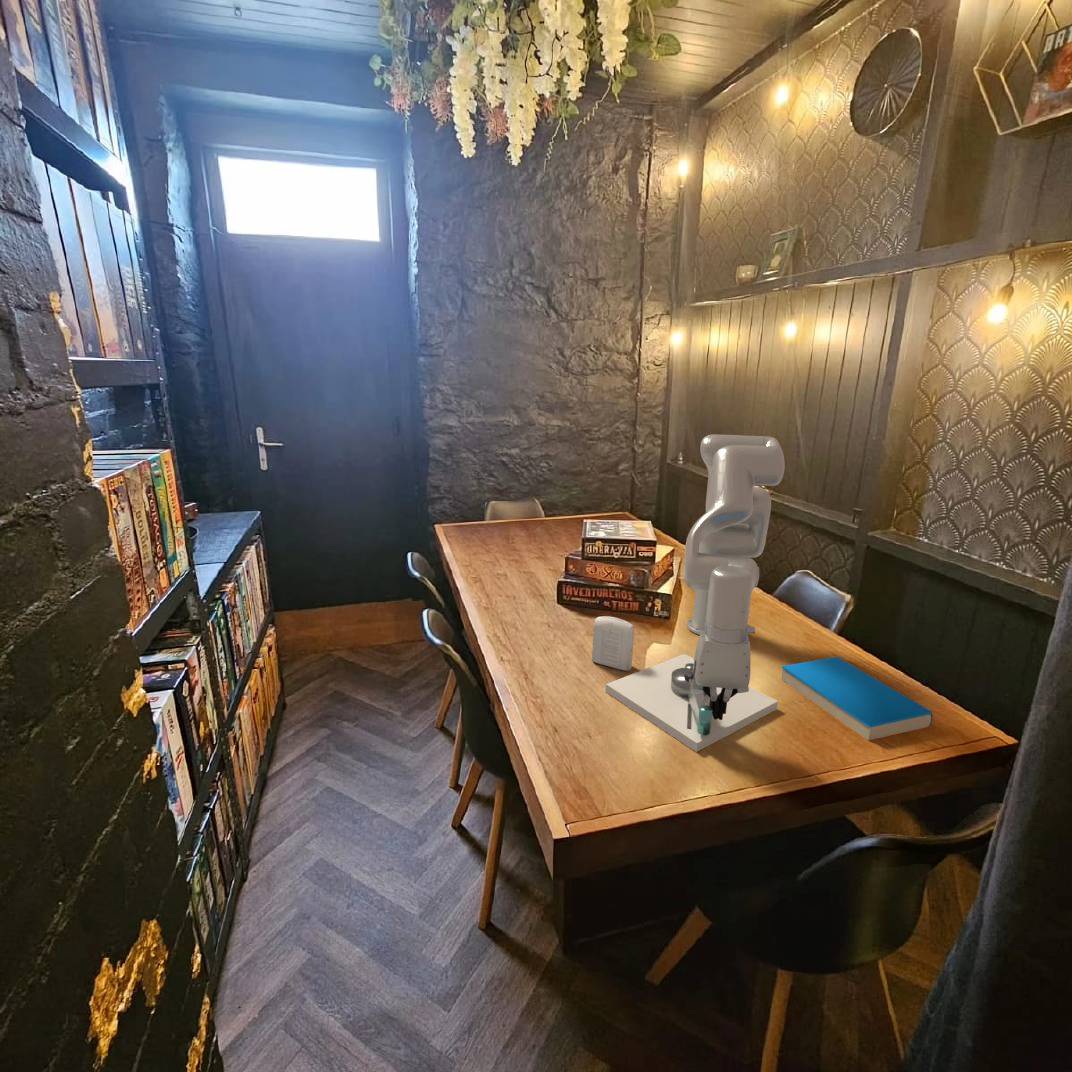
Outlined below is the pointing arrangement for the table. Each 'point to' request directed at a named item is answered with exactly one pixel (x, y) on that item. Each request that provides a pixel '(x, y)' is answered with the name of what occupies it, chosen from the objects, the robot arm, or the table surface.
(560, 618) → the table surface
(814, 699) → the book
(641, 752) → the table surface
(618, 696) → the stand base
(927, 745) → the table surface
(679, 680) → the crank handle
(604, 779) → the table surface
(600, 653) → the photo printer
